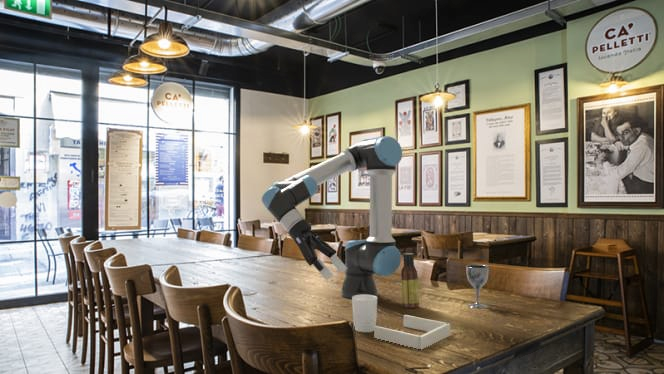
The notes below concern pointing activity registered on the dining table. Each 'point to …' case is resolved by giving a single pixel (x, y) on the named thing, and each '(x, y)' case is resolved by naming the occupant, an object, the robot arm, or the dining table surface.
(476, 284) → the wine glass
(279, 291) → the dining table surface
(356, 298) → the white cup
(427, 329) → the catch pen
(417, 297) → the sauce bottle
